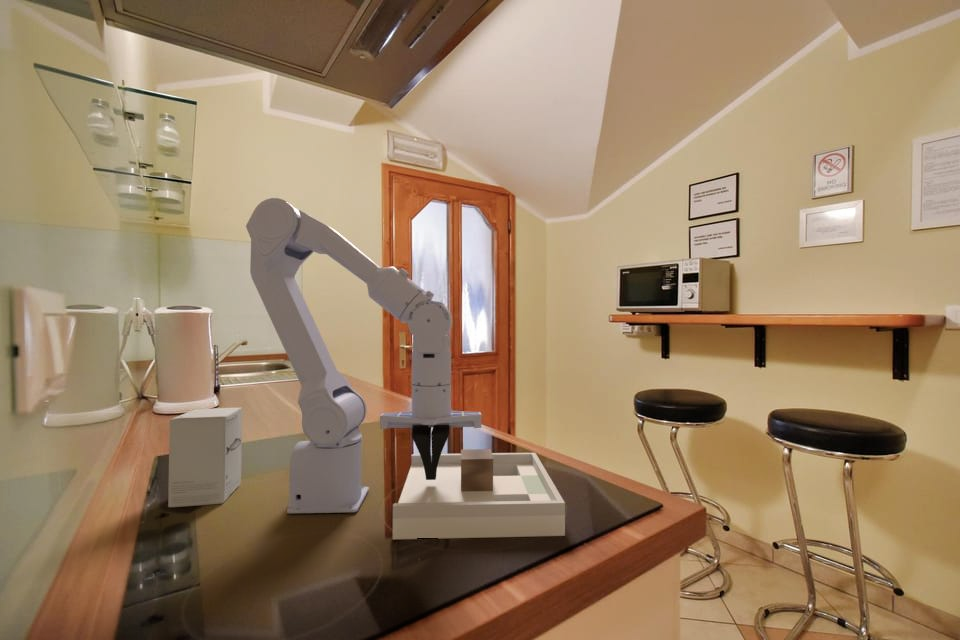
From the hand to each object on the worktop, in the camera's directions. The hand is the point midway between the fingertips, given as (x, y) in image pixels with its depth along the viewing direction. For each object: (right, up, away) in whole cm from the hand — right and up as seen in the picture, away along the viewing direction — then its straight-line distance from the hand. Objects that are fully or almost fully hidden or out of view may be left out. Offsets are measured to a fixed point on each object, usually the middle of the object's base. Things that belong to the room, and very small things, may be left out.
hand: (431, 477), depth 60 cm
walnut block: (+7, -1, 0) cm, 7 cm away
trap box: (+7, -4, 0) cm, 8 cm away
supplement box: (-34, -4, +2) cm, 34 cm away
